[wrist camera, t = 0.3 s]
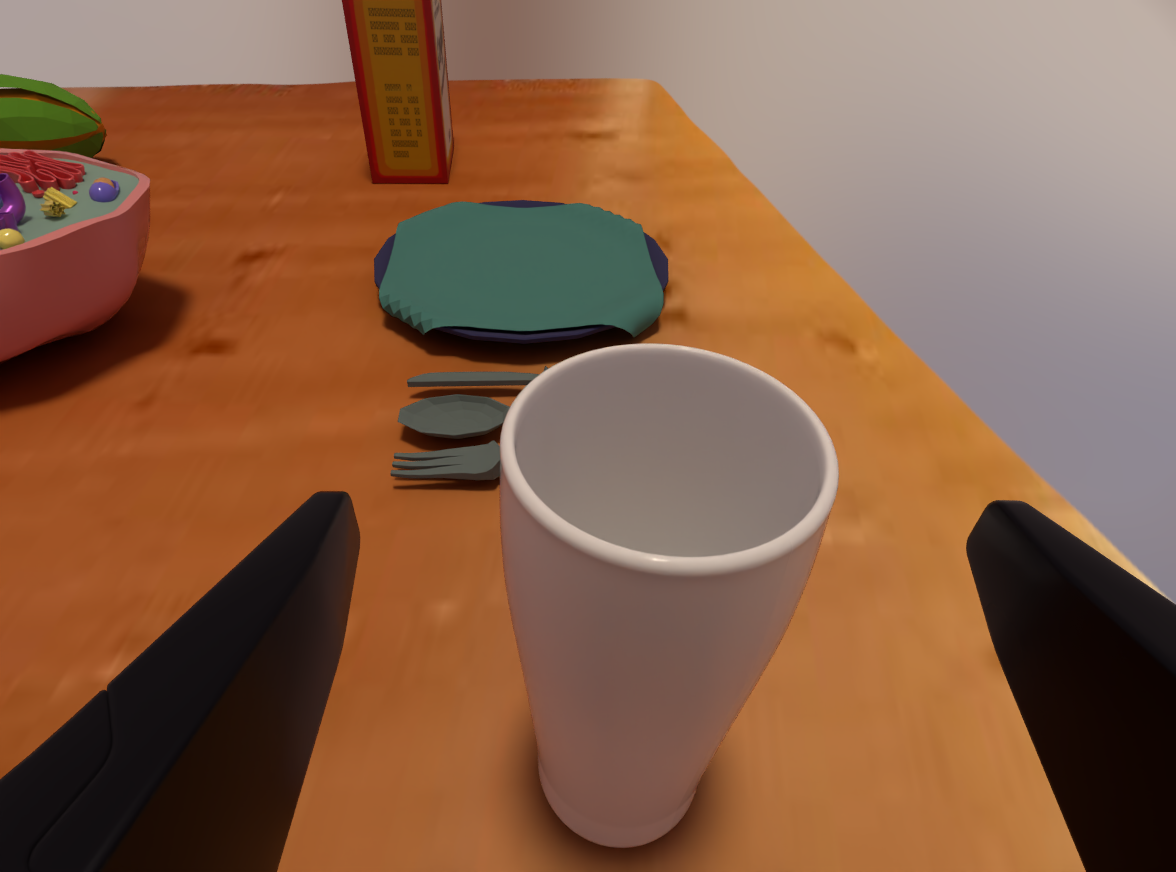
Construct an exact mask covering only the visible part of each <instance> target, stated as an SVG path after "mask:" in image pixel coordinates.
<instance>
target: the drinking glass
mask: <svg viewBox="0 0 1176 872" xmlns="http://www.w3.org/2000/svg"><path fill="white" fill-rule="evenodd" d="M838 480H839V469H838V460H837V456H836V451H835V448H834V445H833V443H832V440H831V438H830V436H829V434H828V432H827V430H826V428H825V427H824V425H823V424H822V422H821V420H820V419H819V418H818V416H817V415H816V414H815V413H814V411H813V410H812V409H811V408H810V407H809V406H808V405H807V404H806V403H805V402H804V401H803V400H802V399H801V398H800V397H799V396H798V395H797V394H795V393H794V392H793V391H792V390H791V389H789V388H788V387H787V386H785V385H784V384H783V383H781V382H779V381H778V380H776V379H775V378H773V377H772V376H770V375H768V374H766V373H764V372H763V371H761V370H759V369H757V368H755V367H753V366H751V365H748V364H746V363H744V362H741V361H739V360H736V359H733V358H731V357H728V356H725V355H722V354H718V353H714V352H711V351H707V350H702V349H697V348H692V347H686V346H679V345H670V344H626V345H618V346H611V347H605V348H600V349H596V350H592V351H588V352H585V353H582V354H579V355H576V356H573V357H571V358H568V359H566V360H564V361H562V362H560V363H558V364H556V365H554V366H552V367H550V368H549V369H547V370H545V371H544V372H542V373H541V374H540V375H538V376H537V377H536V378H534V379H533V380H532V381H531V382H530V383H529V384H528V385H526V386H525V388H524V389H523V390H522V391H521V392H520V393H519V394H518V396H517V397H516V399H515V400H514V401H513V403H512V404H511V406H510V408H509V410H508V412H507V414H506V417H505V420H504V423H503V426H502V431H501V436H500V530H501V545H502V557H503V569H504V577H505V585H506V592H507V598H508V604H509V609H510V614H511V619H512V624H513V629H514V634H515V639H516V643H517V648H518V653H519V658H520V662H521V667H522V672H523V677H524V682H525V686H526V691H527V696H528V701H529V706H530V711H531V716H532V721H533V727H534V732H535V737H536V743H537V755H538V771H539V777H540V782H541V785H542V788H543V791H544V794H545V796H546V798H547V800H548V802H549V804H550V806H551V808H552V809H553V811H554V812H555V814H556V815H557V816H558V817H559V818H560V820H561V821H562V822H563V823H564V824H565V825H566V826H567V827H568V828H570V829H571V830H572V831H573V832H575V833H576V834H578V835H579V836H581V837H583V838H585V839H586V840H588V841H591V842H593V843H596V844H599V845H603V846H607V847H614V848H630V847H636V846H640V845H644V844H647V843H650V842H652V841H655V840H656V839H658V838H660V837H662V836H663V835H665V834H666V833H668V832H669V831H670V830H671V829H672V828H673V827H675V826H676V824H677V823H678V822H679V821H680V820H681V819H682V817H683V816H684V815H685V813H686V812H687V810H688V808H689V807H690V805H691V803H692V800H693V798H694V796H695V793H696V790H697V788H698V785H699V782H700V780H701V778H702V776H703V774H704V773H705V771H706V769H707V767H708V765H709V764H710V762H711V760H712V758H713V757H714V755H715V753H716V752H717V750H718V748H719V746H720V745H721V743H722V741H723V740H724V738H725V736H726V734H727V733H728V731H729V729H730V728H731V726H732V724H733V723H734V721H735V719H736V718H737V716H738V714H739V713H740V711H741V709H742V708H743V706H744V704H745V703H746V701H747V699H748V697H749V696H750V694H751V692H752V691H753V689H754V687H755V686H756V684H757V682H758V681H759V679H760V677H761V676H762V674H763V672H764V670H765V669H766V667H767V665H768V664H769V662H770V660H771V658H772V657H773V655H774V653H775V651H776V650H777V648H778V646H779V644H780V642H781V640H782V638H783V636H784V634H785V632H786V630H787V628H788V626H789V624H790V621H791V619H792V617H793V615H794V612H795V610H796V608H797V605H798V603H799V601H800V598H801V596H802V594H803V591H804V589H805V586H806V584H807V581H808V578H809V576H810V573H811V570H812V568H813V565H814V562H815V559H816V556H817V553H818V550H819V547H820V544H821V541H822V538H823V535H824V532H825V528H826V525H827V522H828V519H829V515H830V512H831V509H832V506H833V504H834V501H835V497H836V494H837V490H838Z"/></svg>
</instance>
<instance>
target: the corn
mask: <svg viewBox="0 0 1176 872" xmlns="http://www.w3.org/2000/svg"><path fill="white" fill-rule="evenodd" d="M0 87H13V88H11V89H0V148H2V149H24V150H49V151H63V152H69V153H74V154H79V155H82V156H86V157H89V158H92V157H93V156H94V155H95V154H97V153H98V152H100V151H101V149H102V146H103V144H104V141H105V137H106V136H107V134H106V130H105V128H104V126H103V124H102V122H101V118H100V117H99V116H98V115H97V114H96V113H95V112H94V110H93V109H92V108H91V107H90V106H89V105H88V104H87V103H86V102H85V101H84V100H83V99H81V98H79V97H77V96H75V95H73V94H71V93H69V92H68V91H66V90H64V89H62V88H60V87H58V86H56V85H54V84H52V83H47V82H43V81H37V80H32V79H26V78H20V77H14V76H9V75H3V74H1V75H0Z"/></svg>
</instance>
